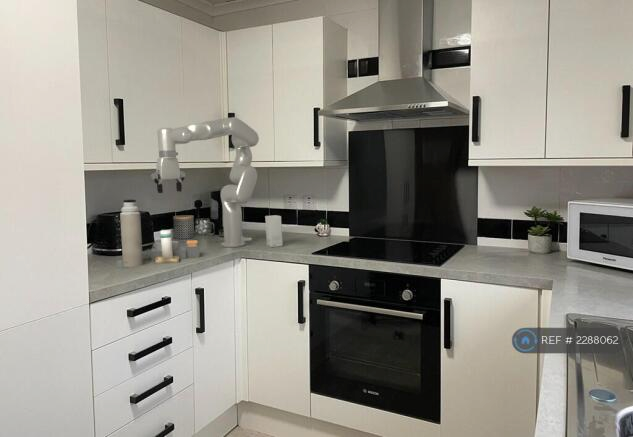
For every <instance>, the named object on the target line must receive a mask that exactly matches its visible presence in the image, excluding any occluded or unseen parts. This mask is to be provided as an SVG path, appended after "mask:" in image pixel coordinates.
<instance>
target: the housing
mask: <svg viewBox="0 0 633 437" xmlns="http://www.w3.org/2000/svg"><path fill="white" fill-rule="evenodd" d="M171 241H172V254H173V256H179V260H184V259H189V258H200V245H199V244H198V243H196V244H197V246H191V247H188V244H185V246H179V244H180V242H179V241H176V240H171ZM156 257H162V247H161V241H159V242H158V241H157V242H156V243H155V248H151V251H150V258H151V259H150V260H151V261H155V258H156Z"/></svg>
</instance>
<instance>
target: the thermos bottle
mask: <svg viewBox="0 0 633 437" xmlns="http://www.w3.org/2000/svg"><path fill="white" fill-rule="evenodd" d="M136 202H137V200H136V199H123V207H121V210H120V211H121V212H120V213H119V214H120V215H119V219H120V220H119V221H120V236H121V250H122V251H121V252H122V256H121V257H122V266H123V267H127V268H133V267H134V268H135V267H139V266H140V267H141V266H142V265H144V259H143V245H142V244H143V240H142V239H143V238H142V227H141V226H142V223H141V221H142V220H141V212H139V207H138V206H137V203H136Z"/></svg>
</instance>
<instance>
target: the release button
mask: <svg viewBox="0 0 633 437" xmlns="http://www.w3.org/2000/svg"><path fill="white" fill-rule="evenodd" d="M197 244H198V239H196V240H186V245H188V247H191V246H197Z"/></svg>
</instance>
